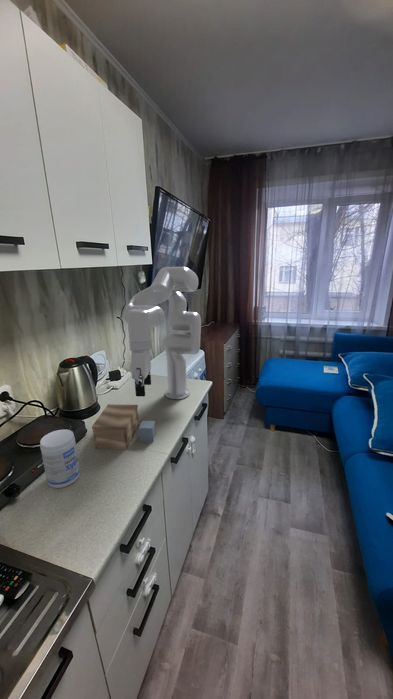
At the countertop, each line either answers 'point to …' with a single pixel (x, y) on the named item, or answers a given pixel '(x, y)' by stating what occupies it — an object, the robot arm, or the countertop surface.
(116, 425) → the lid
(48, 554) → the countertop surface
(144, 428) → the block
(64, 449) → the supplement tub
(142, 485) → the countertop surface
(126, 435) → the box
